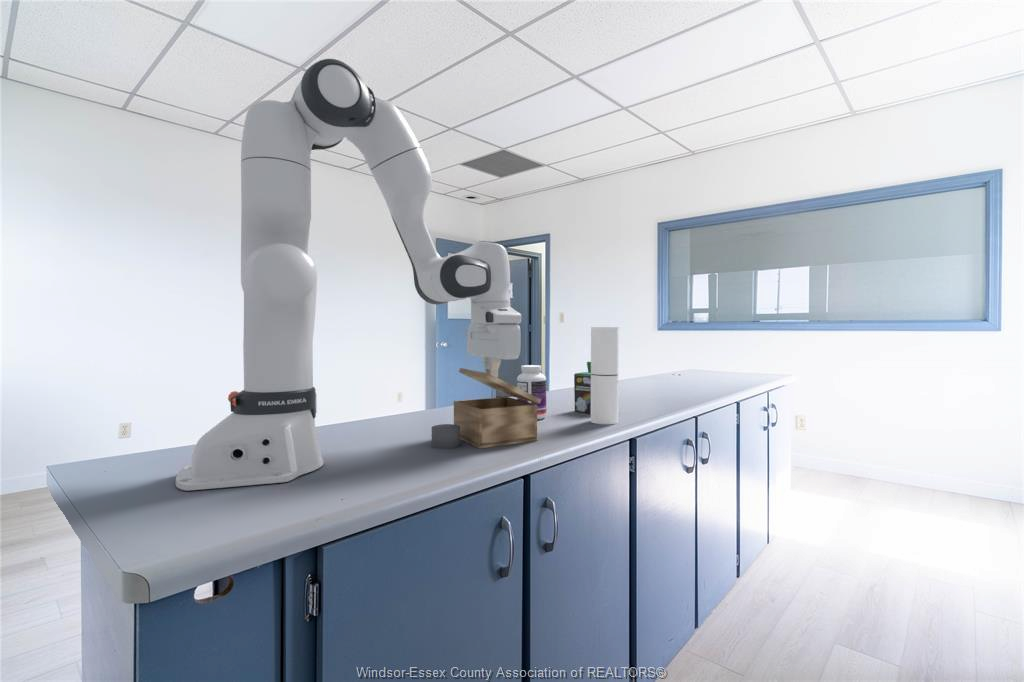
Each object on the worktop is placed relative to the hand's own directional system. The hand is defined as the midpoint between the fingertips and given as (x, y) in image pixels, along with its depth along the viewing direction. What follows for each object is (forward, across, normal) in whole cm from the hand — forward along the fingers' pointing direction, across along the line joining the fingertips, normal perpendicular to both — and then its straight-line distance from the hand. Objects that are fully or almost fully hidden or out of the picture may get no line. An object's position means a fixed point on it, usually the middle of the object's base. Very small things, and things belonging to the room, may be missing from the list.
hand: (491, 377), depth 110 cm
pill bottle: (+14, -17, +20) cm, 30 cm away
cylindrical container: (+14, -3, +34) cm, 38 cm away
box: (+14, 0, 0) cm, 14 cm away
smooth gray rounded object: (+14, +1, -12) cm, 18 cm away
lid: (+2, 0, +2) cm, 3 cm away
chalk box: (+15, -17, +42) cm, 48 cm away
